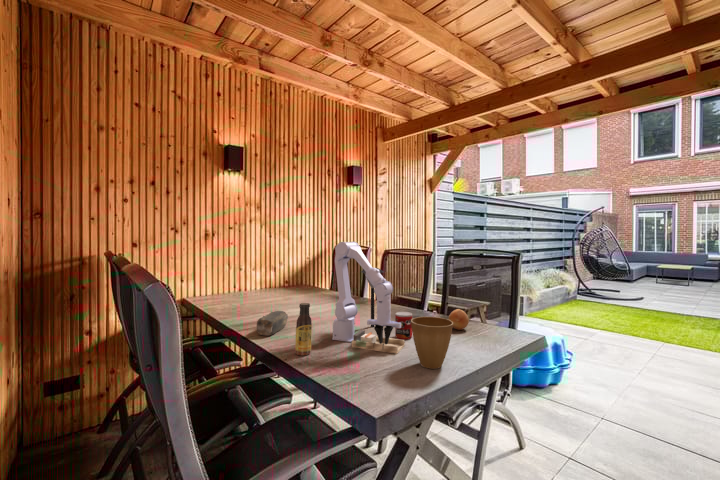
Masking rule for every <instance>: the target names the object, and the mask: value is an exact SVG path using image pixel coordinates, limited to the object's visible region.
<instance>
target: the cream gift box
mask: <svg viewBox="0 0 720 480" xmlns="http://www.w3.org/2000/svg"><path fill="white" fill-rule="evenodd" d="M376 336H377V335H376V334H373V332H368V333H365V334H364V335H363V336H361V341H365V342H370V343H375V342H376Z"/></svg>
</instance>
